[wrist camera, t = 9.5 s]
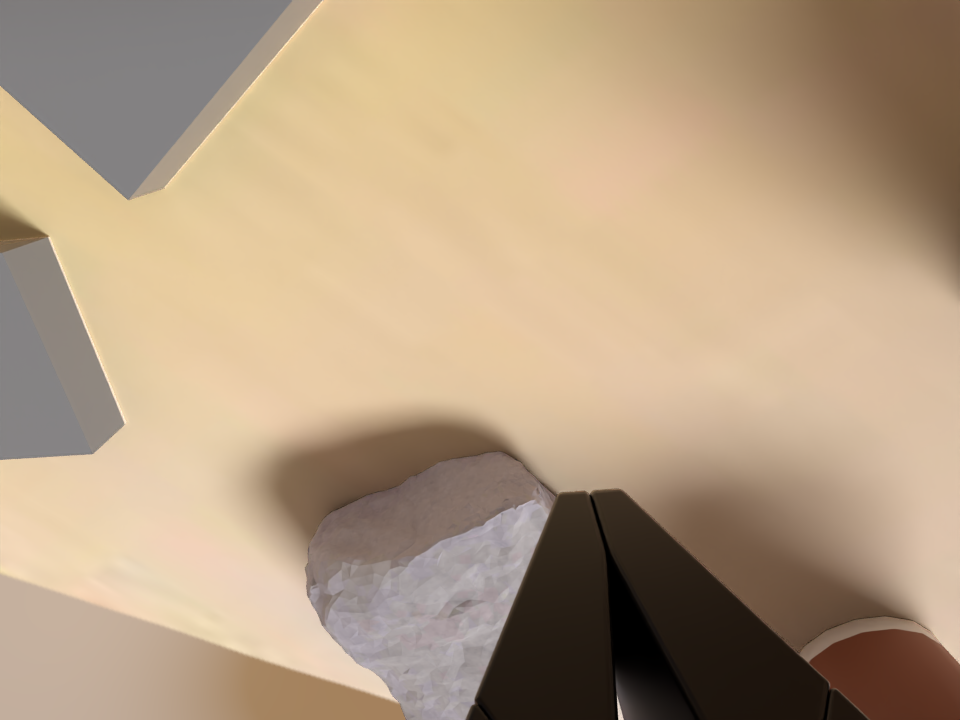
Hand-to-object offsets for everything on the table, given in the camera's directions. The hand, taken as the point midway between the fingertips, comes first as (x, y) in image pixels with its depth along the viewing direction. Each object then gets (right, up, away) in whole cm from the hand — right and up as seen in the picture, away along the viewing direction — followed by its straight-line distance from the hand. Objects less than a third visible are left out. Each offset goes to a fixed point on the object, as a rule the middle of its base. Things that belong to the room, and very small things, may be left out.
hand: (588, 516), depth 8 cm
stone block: (-1, -7, +17) cm, 19 cm away
